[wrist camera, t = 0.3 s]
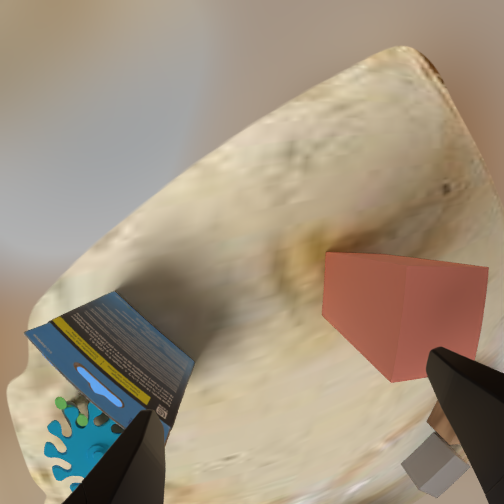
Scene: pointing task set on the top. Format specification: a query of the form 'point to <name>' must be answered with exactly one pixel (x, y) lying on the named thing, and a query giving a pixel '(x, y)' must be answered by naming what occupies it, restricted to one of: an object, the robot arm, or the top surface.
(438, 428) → the walnut cube
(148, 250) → the top surface
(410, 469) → the gray cube
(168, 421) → the label tape cartridge
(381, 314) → the red block
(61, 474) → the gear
